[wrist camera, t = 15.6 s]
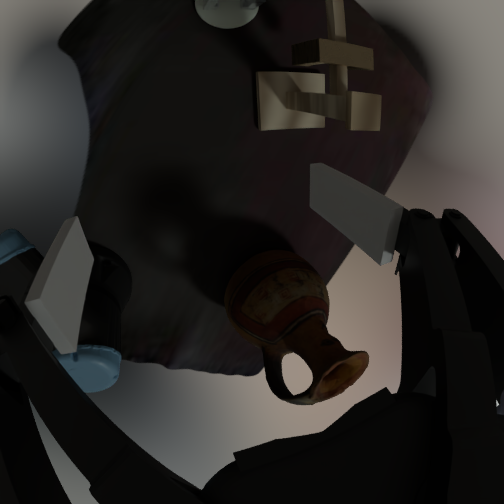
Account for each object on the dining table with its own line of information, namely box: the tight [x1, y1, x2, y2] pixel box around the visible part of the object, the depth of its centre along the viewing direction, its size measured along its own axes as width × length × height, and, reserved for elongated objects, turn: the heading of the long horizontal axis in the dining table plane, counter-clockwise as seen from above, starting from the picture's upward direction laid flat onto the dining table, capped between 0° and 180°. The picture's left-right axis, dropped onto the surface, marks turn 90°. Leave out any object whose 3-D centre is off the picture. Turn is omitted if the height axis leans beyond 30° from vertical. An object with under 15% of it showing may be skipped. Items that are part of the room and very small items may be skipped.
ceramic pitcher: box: [224, 250, 369, 405], centre depth 49 cm, size 20×20×30 cm
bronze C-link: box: [292, 38, 374, 70], centre depth 27 cm, size 8×3×7 cm, turn 93°
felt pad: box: [195, 0, 259, 29], centre depth 29 cm, size 10×10×1 cm
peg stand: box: [256, 0, 381, 131], centre depth 30 cm, size 12×22×20 cm, turn 3°
